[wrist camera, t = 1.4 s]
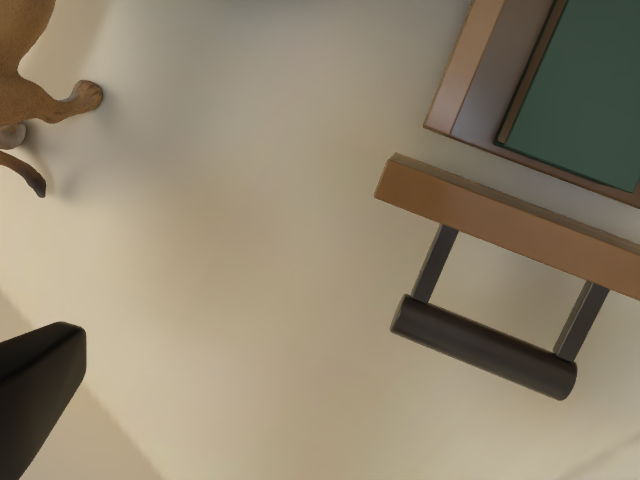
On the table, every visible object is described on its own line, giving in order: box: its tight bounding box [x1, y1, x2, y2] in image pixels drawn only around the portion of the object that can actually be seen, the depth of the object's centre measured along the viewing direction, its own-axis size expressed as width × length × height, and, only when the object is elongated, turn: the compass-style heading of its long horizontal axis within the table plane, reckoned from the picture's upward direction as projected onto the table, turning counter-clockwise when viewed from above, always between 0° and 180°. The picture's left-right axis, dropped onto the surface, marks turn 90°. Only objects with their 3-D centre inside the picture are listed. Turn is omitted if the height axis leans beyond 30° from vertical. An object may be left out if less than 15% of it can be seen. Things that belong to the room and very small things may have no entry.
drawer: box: [374, 0, 640, 401], centre depth 18 cm, size 23×10×6 cm, turn 159°
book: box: [493, 0, 640, 193], centre depth 18 cm, size 8×4×3 cm, turn 159°
